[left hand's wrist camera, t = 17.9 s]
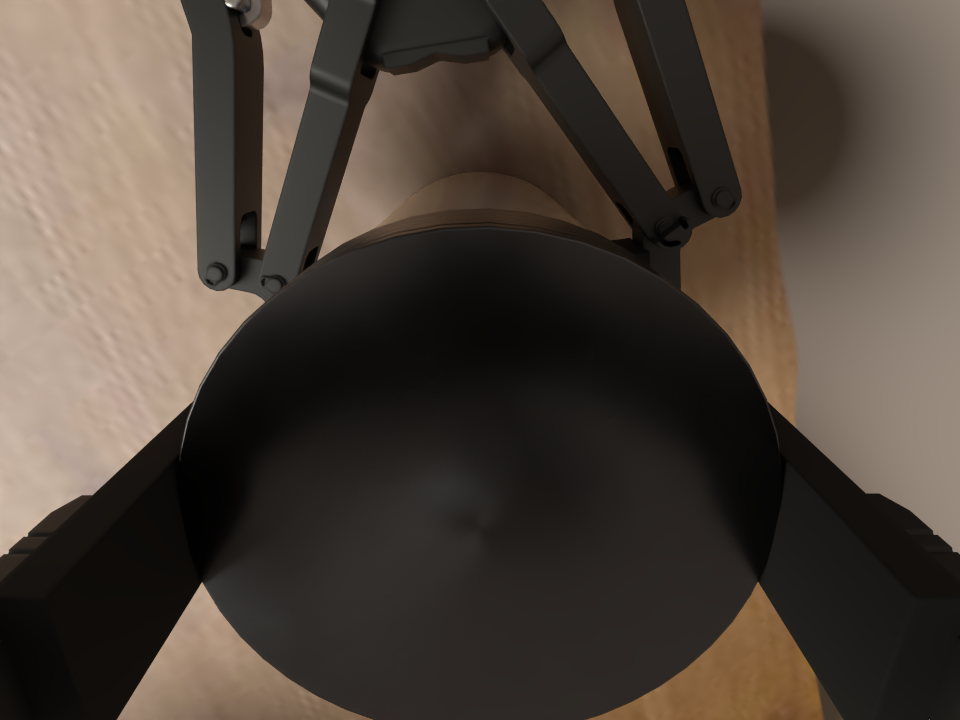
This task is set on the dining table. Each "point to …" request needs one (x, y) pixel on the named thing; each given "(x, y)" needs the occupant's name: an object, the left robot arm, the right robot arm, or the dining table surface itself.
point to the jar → (480, 197)
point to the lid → (480, 473)
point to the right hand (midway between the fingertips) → (496, 433)
